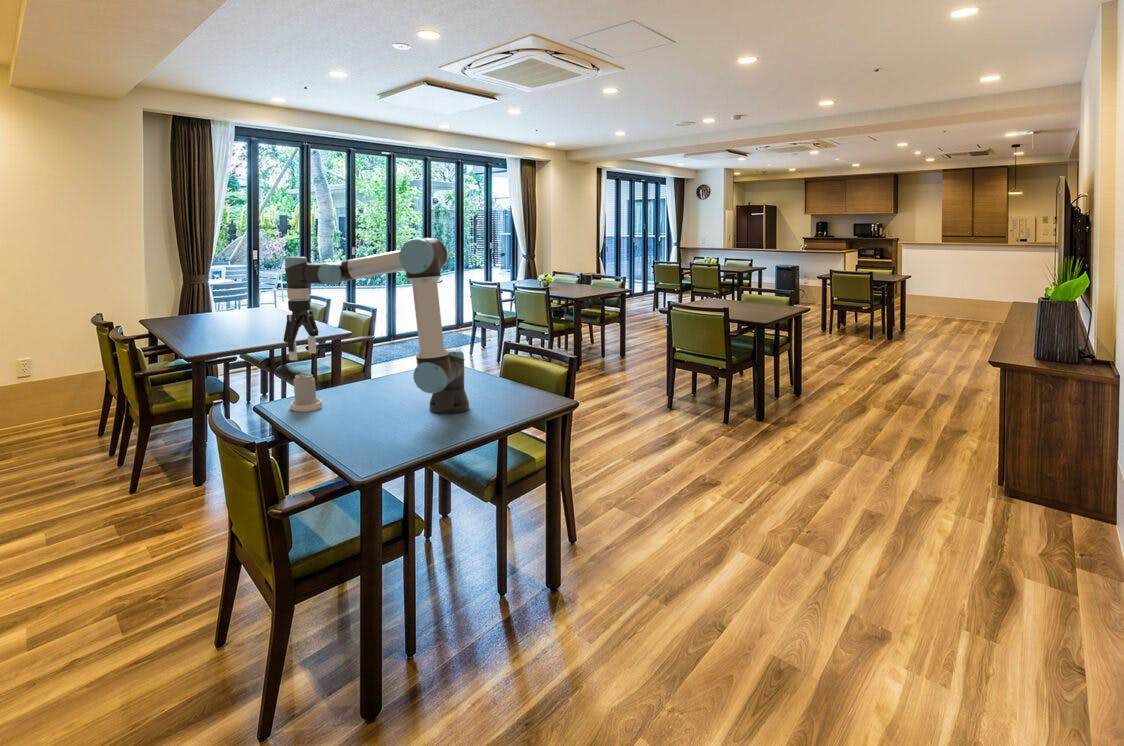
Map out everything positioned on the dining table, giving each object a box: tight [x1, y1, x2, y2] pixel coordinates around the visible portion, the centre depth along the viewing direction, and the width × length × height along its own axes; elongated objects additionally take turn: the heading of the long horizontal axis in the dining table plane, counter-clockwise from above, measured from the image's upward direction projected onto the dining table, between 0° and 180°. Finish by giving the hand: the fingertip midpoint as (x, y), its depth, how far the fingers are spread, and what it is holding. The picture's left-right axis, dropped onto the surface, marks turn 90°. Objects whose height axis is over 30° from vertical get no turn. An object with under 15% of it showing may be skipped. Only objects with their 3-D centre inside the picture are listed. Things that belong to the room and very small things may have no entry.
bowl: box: [290, 397, 323, 413], centre depth 234 cm, size 11×11×2 cm
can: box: [292, 373, 317, 405], centre depth 233 cm, size 8×8×12 cm
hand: (303, 356), depth 230 cm, fingers open, 13 cm apart
